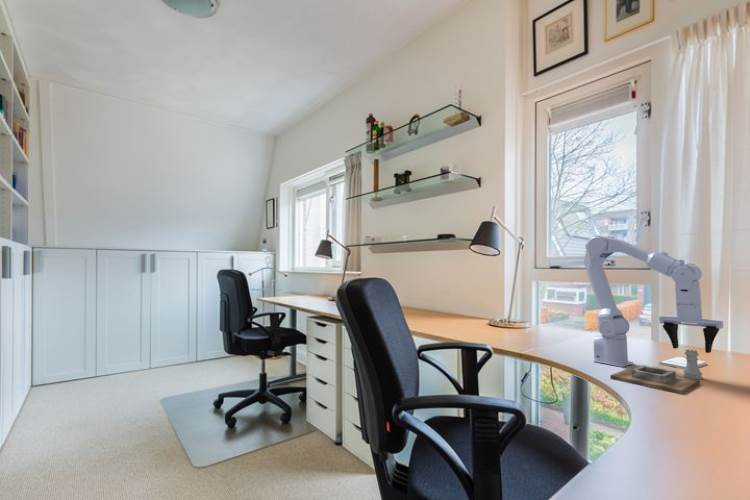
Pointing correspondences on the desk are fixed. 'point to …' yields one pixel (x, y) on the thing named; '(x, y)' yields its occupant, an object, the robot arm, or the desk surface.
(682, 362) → the external hard drive
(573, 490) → the desk surface
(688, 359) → the rook chess piece
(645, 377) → the socket board
